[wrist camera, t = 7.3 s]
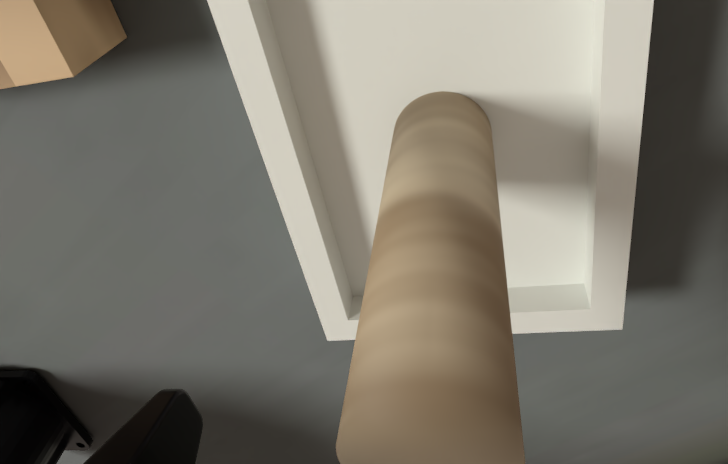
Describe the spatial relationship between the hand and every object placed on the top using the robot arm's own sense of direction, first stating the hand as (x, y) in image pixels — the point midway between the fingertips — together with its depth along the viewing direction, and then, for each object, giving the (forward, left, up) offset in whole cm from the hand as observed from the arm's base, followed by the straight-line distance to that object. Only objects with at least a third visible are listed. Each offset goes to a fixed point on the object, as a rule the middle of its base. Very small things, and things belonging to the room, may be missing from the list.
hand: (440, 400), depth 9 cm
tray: (0, 0, -10) cm, 10 cm away
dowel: (0, 0, -9) cm, 9 cm away
